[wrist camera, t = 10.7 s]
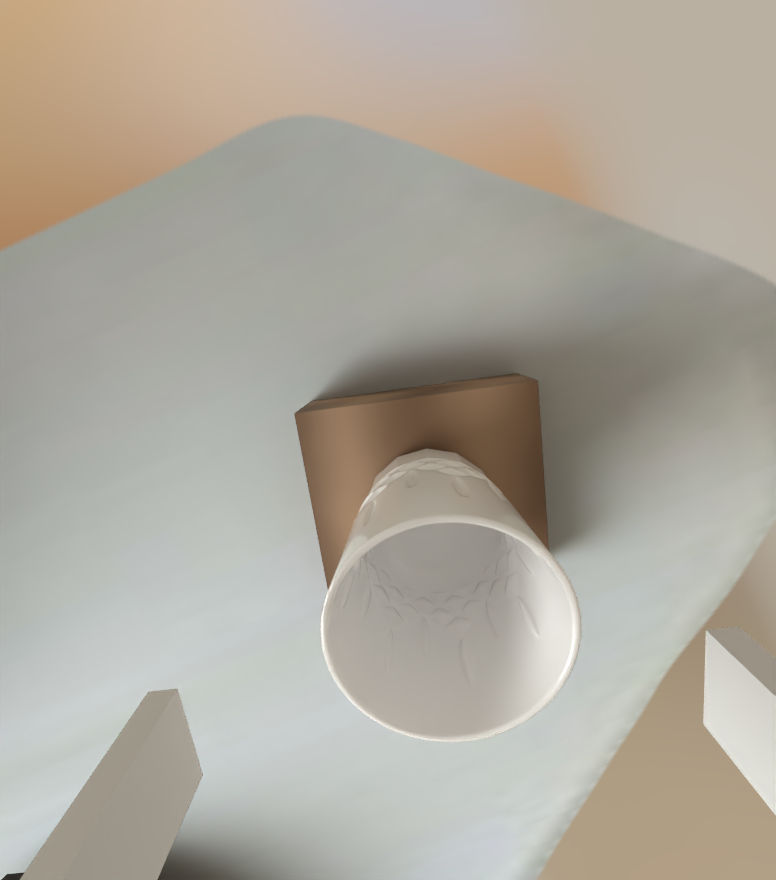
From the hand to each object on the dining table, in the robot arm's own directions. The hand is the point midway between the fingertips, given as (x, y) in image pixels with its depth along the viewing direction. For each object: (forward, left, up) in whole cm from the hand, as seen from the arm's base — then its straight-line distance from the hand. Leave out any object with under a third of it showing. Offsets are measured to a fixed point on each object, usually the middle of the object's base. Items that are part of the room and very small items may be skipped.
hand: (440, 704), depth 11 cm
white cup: (0, 0, -13) cm, 13 cm away
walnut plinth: (0, 0, -17) cm, 17 cm away
